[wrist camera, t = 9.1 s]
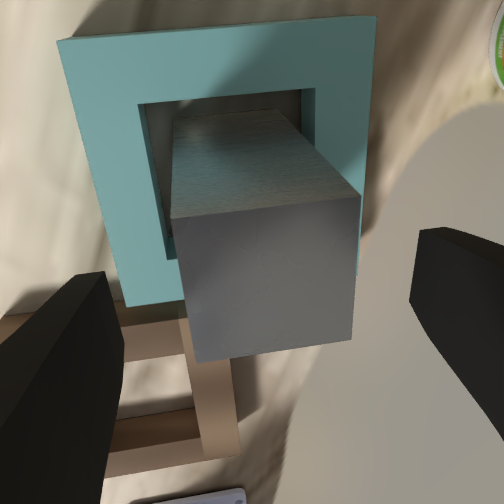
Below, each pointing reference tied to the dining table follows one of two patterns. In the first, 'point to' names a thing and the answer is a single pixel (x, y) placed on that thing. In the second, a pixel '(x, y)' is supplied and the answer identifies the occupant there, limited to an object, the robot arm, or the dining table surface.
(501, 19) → the supplement bottle
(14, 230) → the dining table surface
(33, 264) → the dining table surface
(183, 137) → the peg
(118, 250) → the teal square frame
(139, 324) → the socket block
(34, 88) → the dining table surface
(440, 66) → the dining table surface
